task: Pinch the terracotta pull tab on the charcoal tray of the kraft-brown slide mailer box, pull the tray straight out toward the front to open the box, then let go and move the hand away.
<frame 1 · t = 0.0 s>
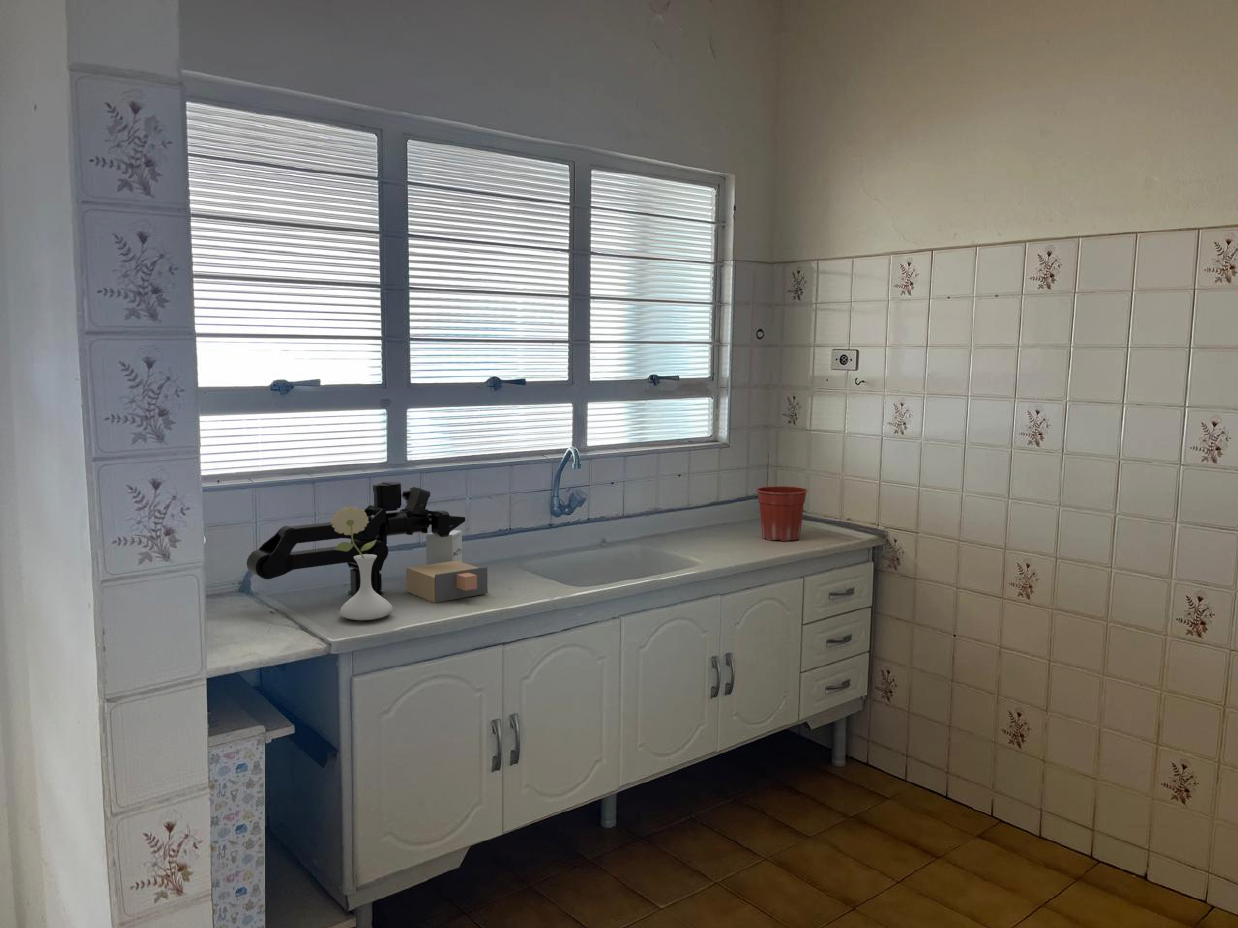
hand: (455, 516, 250), 17 cm above the counter, tool horizontal, fingers open, 9 cm apart
supplement box: (444, 580, 251), on the counter
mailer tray: (450, 580, 235), point 4 cm above the counter, slide at 0.0 cm
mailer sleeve: (446, 592, 237), on the counter
flower pot: (780, 539, 313), on the counter
flower in vase: (362, 618, 214), on the counter
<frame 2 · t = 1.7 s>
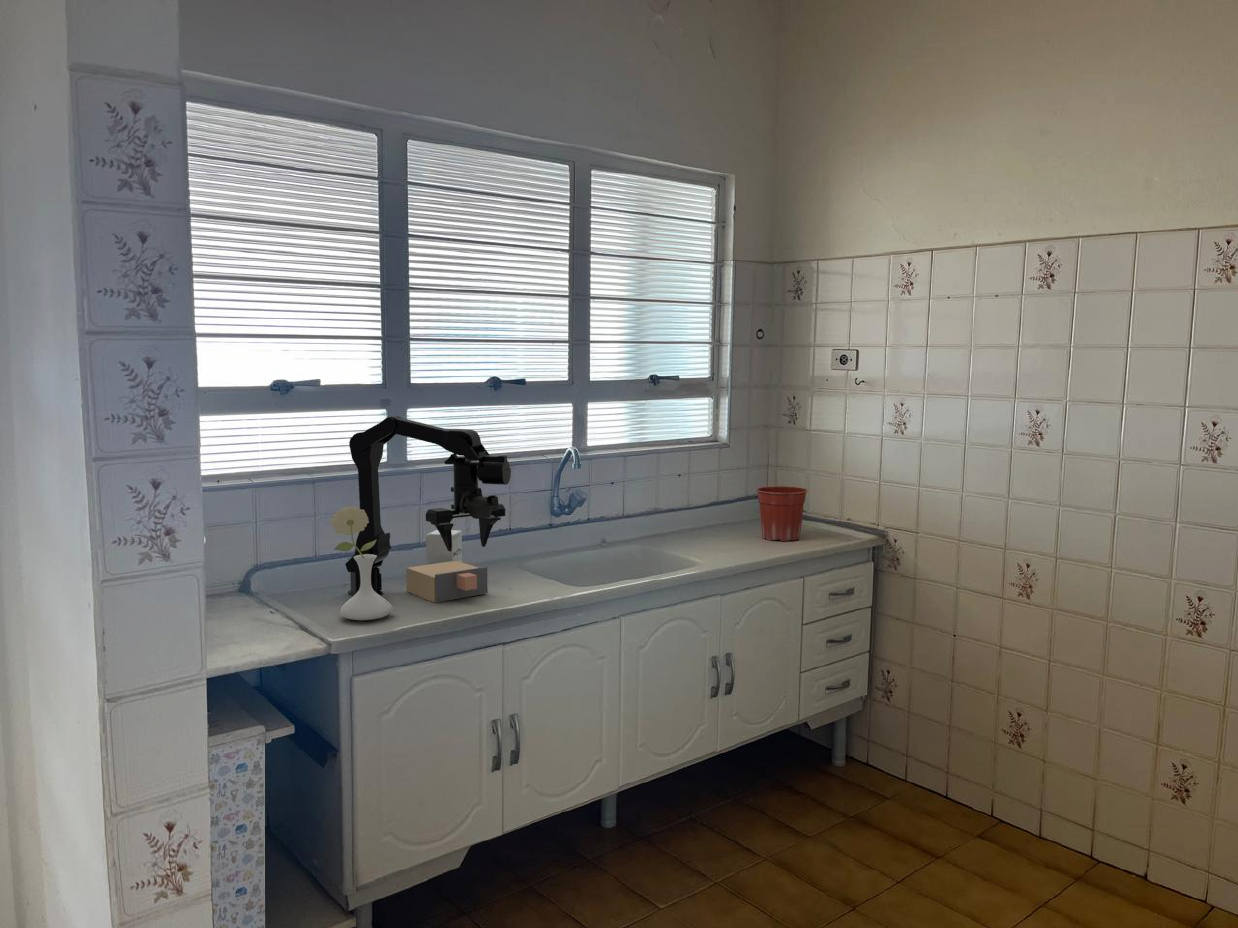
hand: (466, 548, 228), 12 cm above the counter, tool pointing down, fingers open, 9 cm apart
nothing on the counter moved.
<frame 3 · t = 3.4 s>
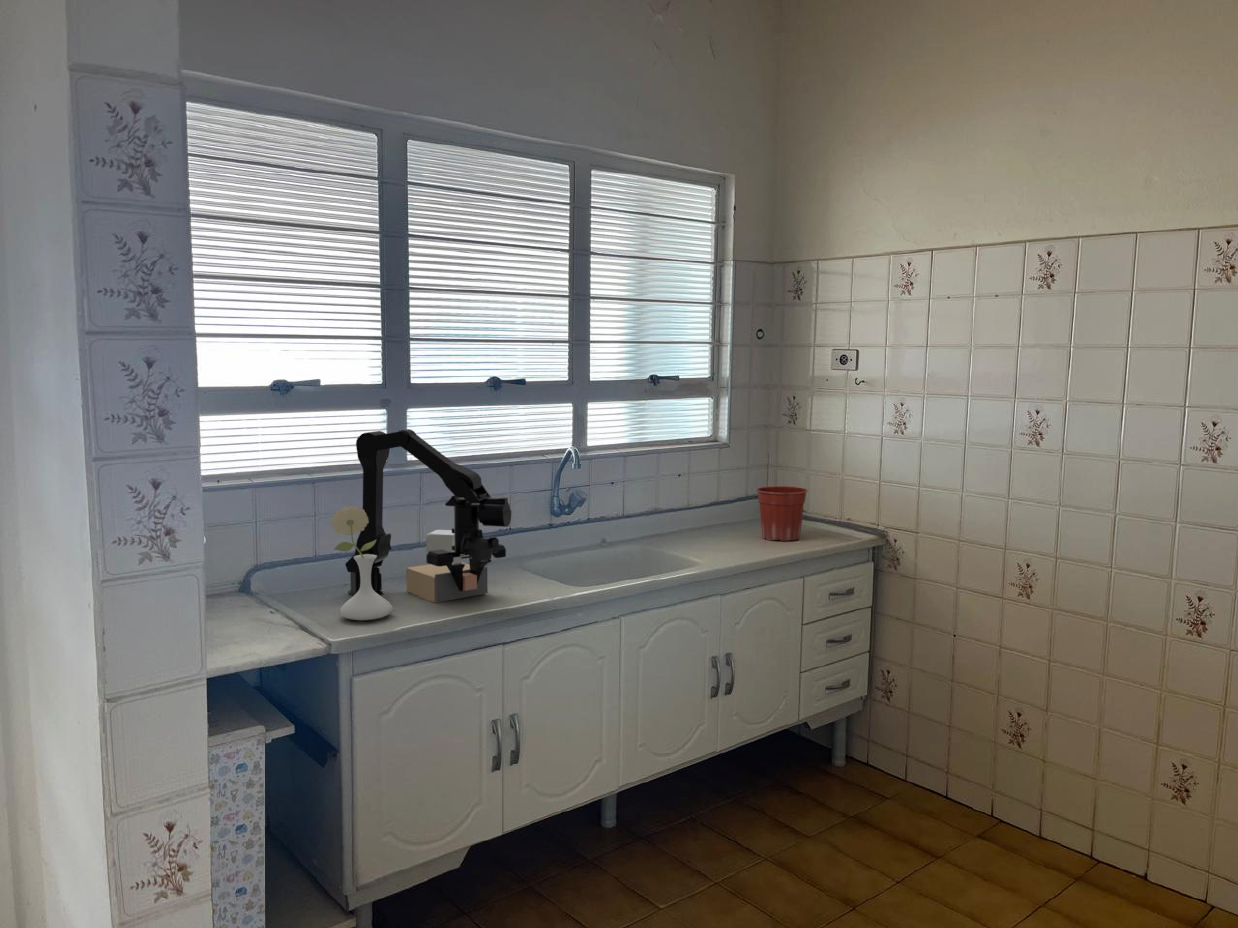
hand: (467, 589, 229), 3 cm above the counter, tool pointing down, fingers closed on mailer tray, 3 cm apart
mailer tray: (450, 580, 235), point 4 cm above the counter, slide at 0.0 cm, touching gripper
everything else where it was.
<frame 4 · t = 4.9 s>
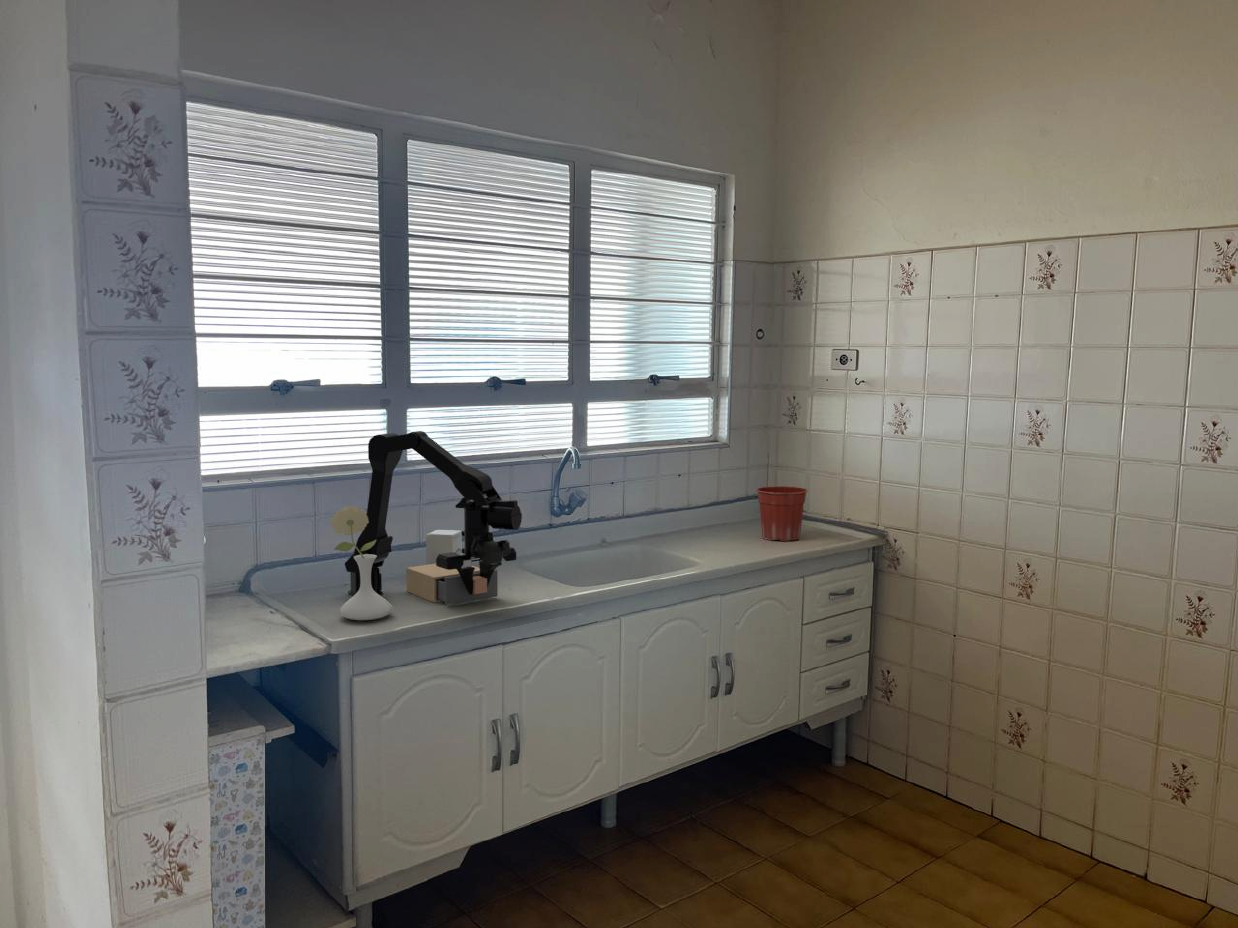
hand: (477, 593, 225), 3 cm above the counter, tool pointing down, fingers closed on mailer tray, 3 cm apart
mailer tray: (460, 583, 231), point 4 cm above the counter, slide at 4.5 cm, touching gripper
everything else where it was.
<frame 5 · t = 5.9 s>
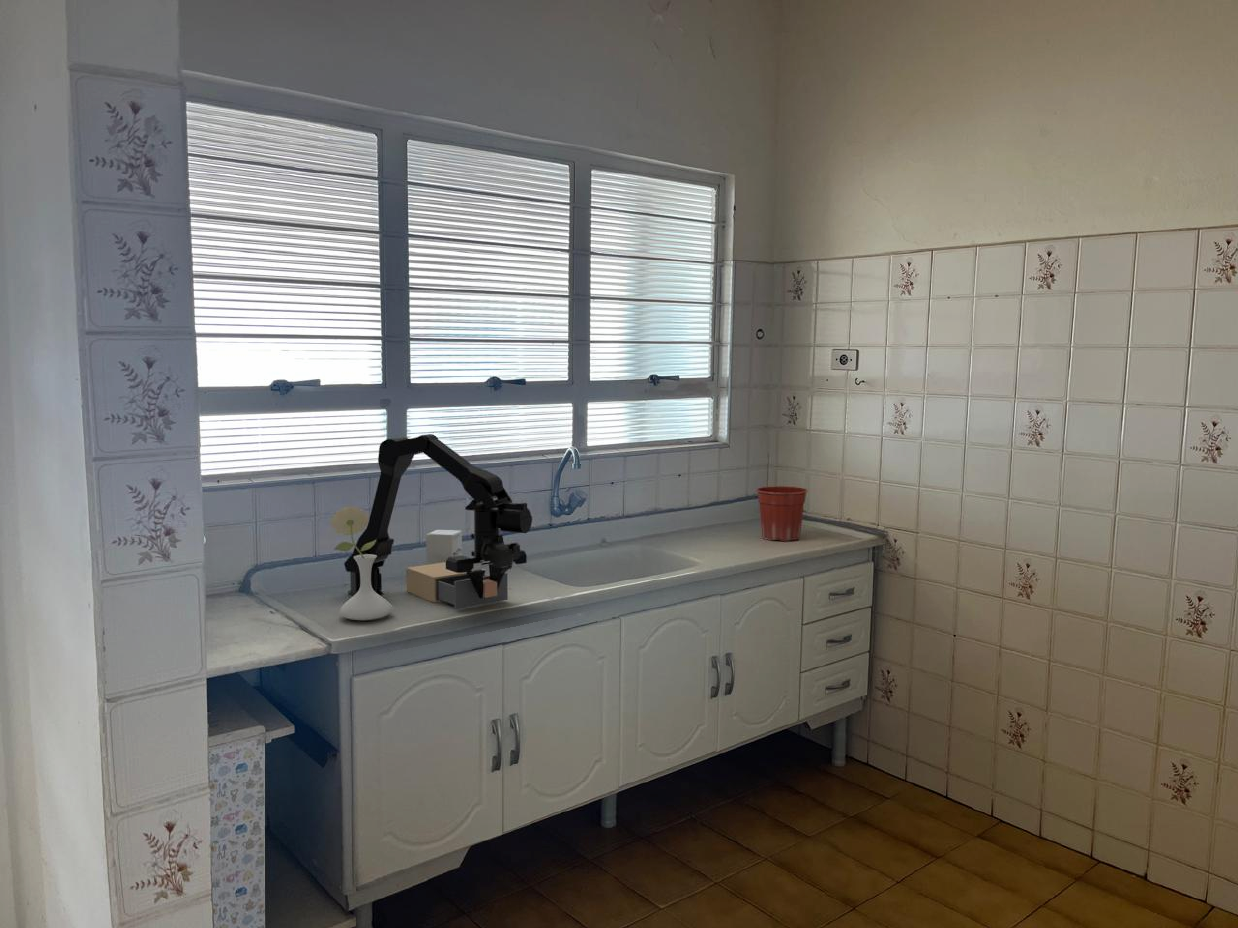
hand: (487, 596, 222), 3 cm above the counter, tool pointing down, fingers closed on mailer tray, 3 cm apart
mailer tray: (469, 586, 228), point 4 cm above the counter, slide at 8.9 cm, touching gripper
everything else where it was.
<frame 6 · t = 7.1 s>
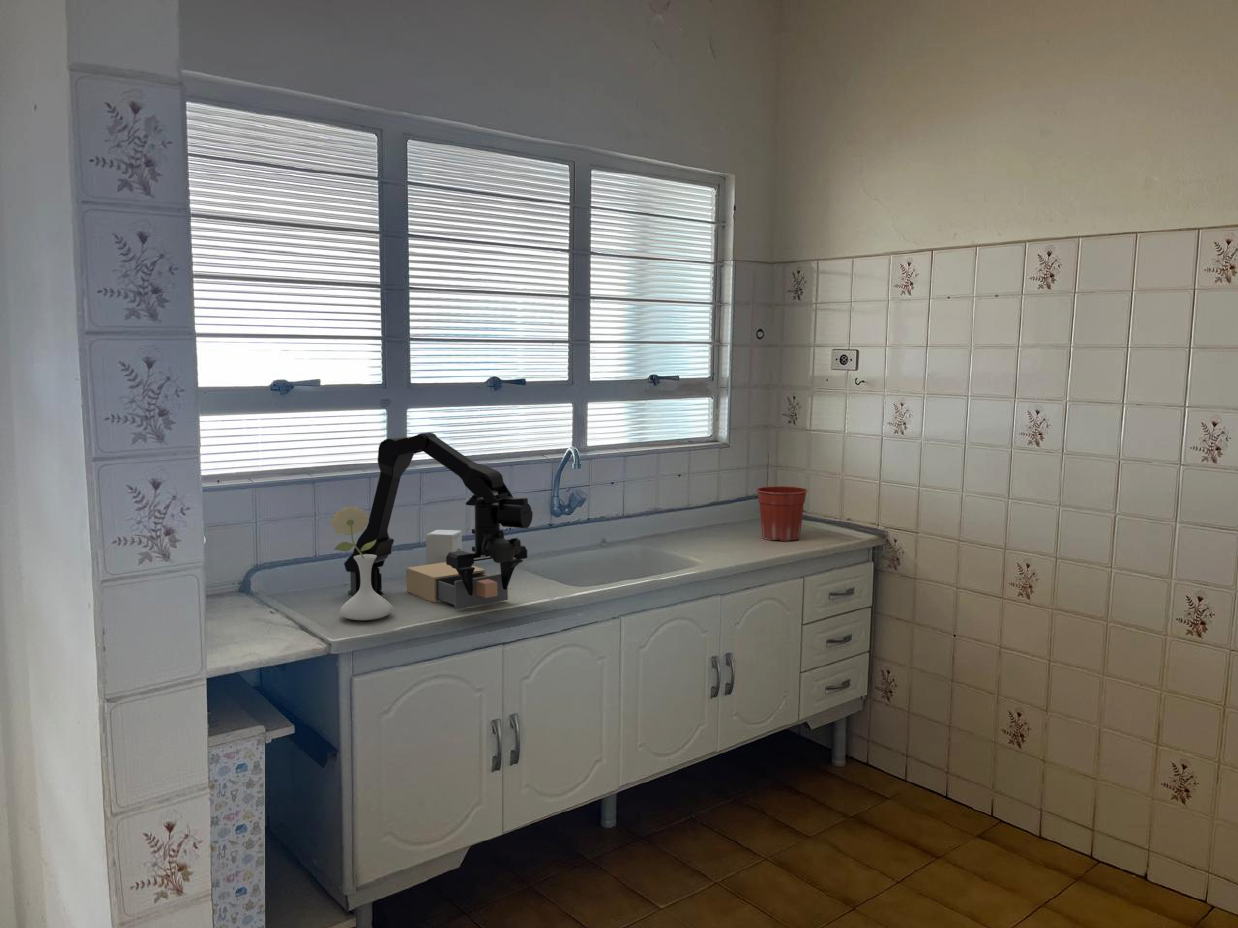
hand: (487, 592, 222), 4 cm above the counter, tool pointing down, fingers open, 9 cm apart
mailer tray: (470, 586, 228), point 4 cm above the counter, slide at 8.9 cm
everything else where it was.
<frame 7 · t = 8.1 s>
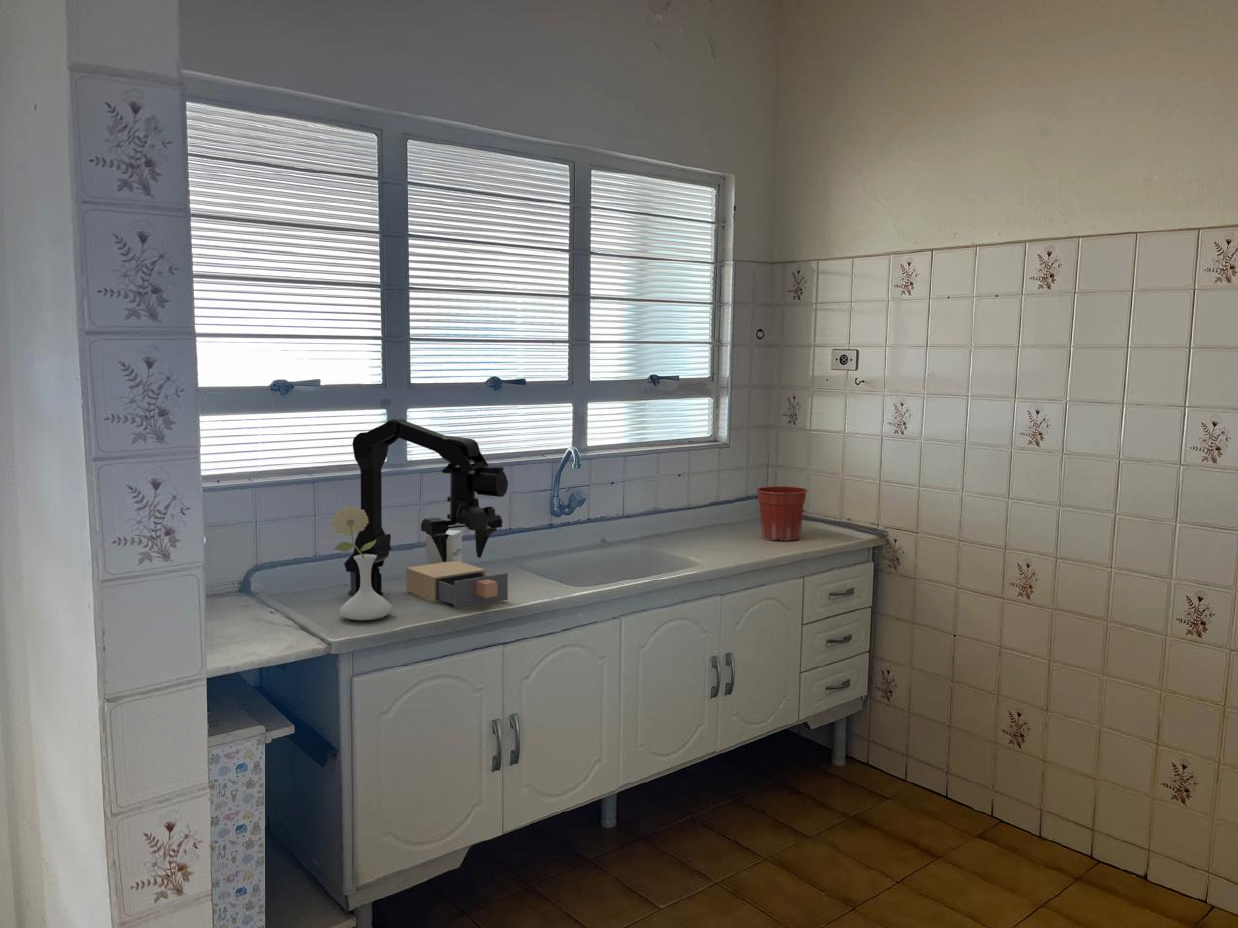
hand: (461, 559, 225), 11 cm above the counter, tool pointing down, fingers open, 9 cm apart
nothing on the counter moved.
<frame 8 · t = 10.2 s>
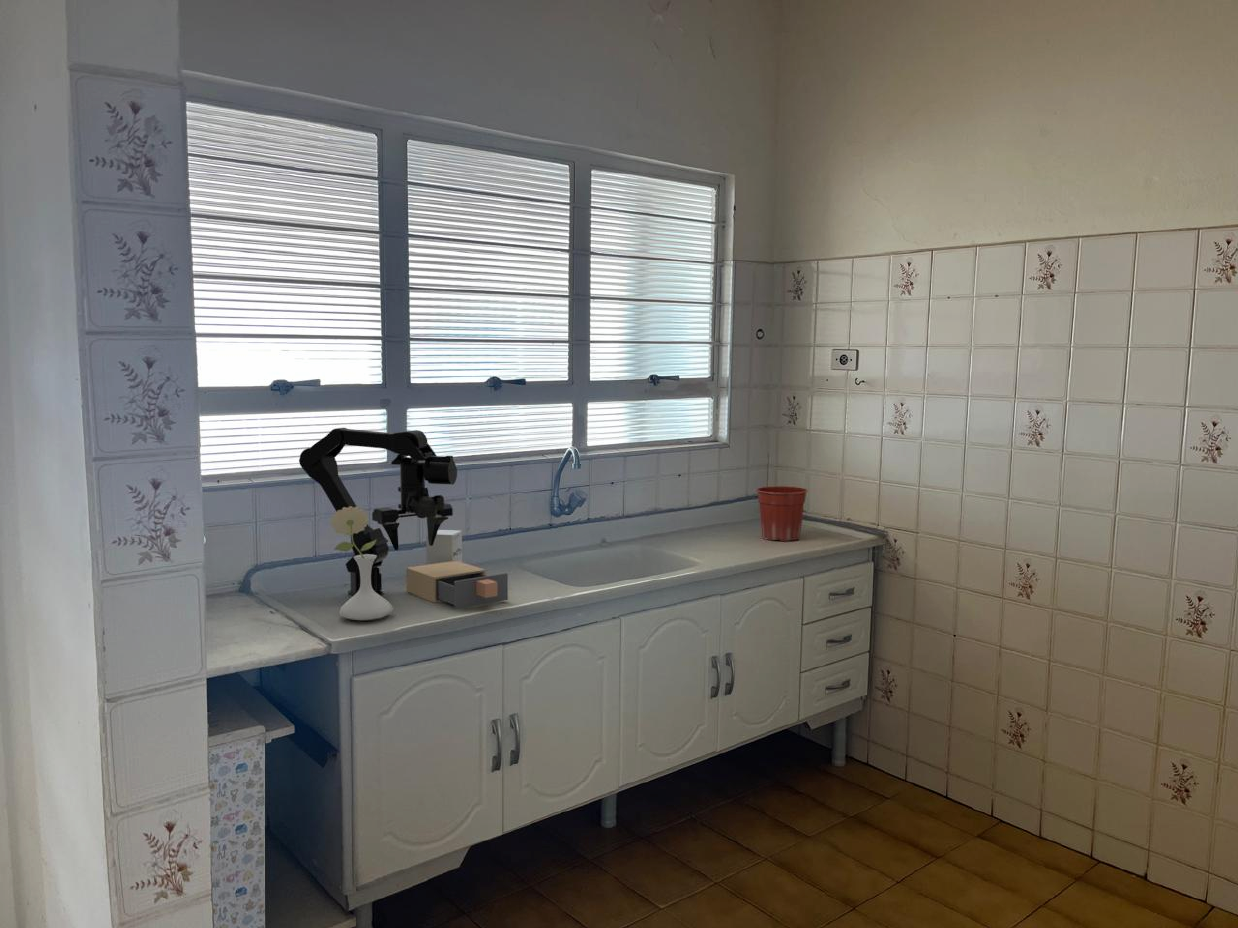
hand: (413, 547, 231), 12 cm above the counter, tool pointing down, fingers open, 9 cm apart
nothing on the counter moved.
at the end: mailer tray slide at 8.9 cm; the gripper is holding nothing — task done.
